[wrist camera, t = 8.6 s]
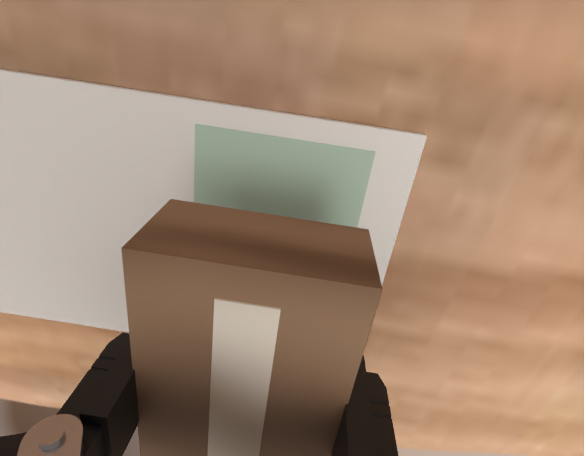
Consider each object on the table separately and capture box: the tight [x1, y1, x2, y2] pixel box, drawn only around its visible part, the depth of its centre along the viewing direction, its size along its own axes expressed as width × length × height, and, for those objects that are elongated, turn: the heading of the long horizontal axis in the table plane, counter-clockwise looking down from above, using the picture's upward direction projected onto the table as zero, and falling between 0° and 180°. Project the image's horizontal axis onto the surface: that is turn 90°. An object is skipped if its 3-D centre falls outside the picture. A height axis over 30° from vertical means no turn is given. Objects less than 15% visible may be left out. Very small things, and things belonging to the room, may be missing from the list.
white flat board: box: [0, 69, 427, 332], centre depth 19 cm, size 26×14×1 cm, turn 82°
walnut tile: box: [121, 199, 382, 456], centre depth 12 cm, size 10×6×3 cm, turn 172°
